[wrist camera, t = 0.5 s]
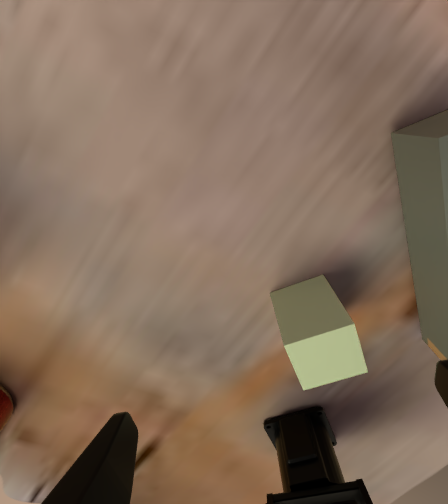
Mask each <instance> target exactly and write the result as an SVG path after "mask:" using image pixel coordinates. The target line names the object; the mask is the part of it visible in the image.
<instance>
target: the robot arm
mask: <svg viewBox="0 0 448 504" xmlns="http://www.w3.org/2000/svg"><path fill="white" fill-rule="evenodd" d="M435 386H436V388H437V391H438V392H439V394H440V396H441V397H442V399H443V401H444V403H445V404H446V406H447V408H448V359H447V360H441V361H438V362H437V365H436V373H435ZM263 424H264V429H265V431H266V432H267V434H268V436H269V438H270V440H271V441H272V443H273V445H274V447H275V448H276V450H277V455H278V461H279V467H280V473H281V479H282V485H283V492H284V493H278V494H273V493H270V494H267V503H266V504H373V503H372V501H371V498H370V496H369V494H368V491H367V489H366V487H365V485H364V482H363V480H362V479H357V480H356V481H352V482H346V483H345V481H344V478H343V475H342V472H341V469H340V466H339V463H338V460H337V457H336V454H335V451H334V448H333V446H335V445H336V444H337V442H336V439H335V437H334V434H333V432H332V429H331V427H330V424H329V422H328V419H327V417H326V414H325V412H324V409H323V408H322V407H315V408H311V409H308V410H304V411H300V412H297V413H293V414H289V415H286V416H282V417H278V418H275V419H271V420H267V421H265V422H264V423H263ZM137 443H138V429H137V427H136V425H135V423H134V421H133V419H132V417H131V416H130V414H129V413H128V412H121V413H116V414H114V415H113V416H112V417H111V418H110V419H109V420H108V422H107V423H106V424H105V425H104V427H103V428H102V429H101V430H100V432H99V433H98V434H97V435H96V437H95V438H94V439H93V440H92V442H91V443H90V444H89V445H88V446H87V448H86V449H85V450H84V451H83V453H82V454H81V455H80V456H79V458H78V459H77V460H76V461H75V463H74V464H73V465H72V466H71V467H70V469H69V470H68V471H67V472H66V474H65V475H64V476H63V477H62V479H61V480H60V481H59V482H58V484H57V485H56V486H55V487H54V489H53V490H52V491H51V492H50V493H49V495H48V496H47V497H46V498H45V500H44V501H43V502H42V503H41V504H130V499H131V493H132V486H133V477H134V469H135V460H136V451H137Z"/></svg>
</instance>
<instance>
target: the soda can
mask: <svg viewBox="0 0 448 504" xmlns="http://www.w3.org/2000/svg"><path fill="white" fill-rule="evenodd" d="M12 413H13V402H12V398H11V396H10V394H9V393H8V391H7V390H6V389H5V388H4V387H3V386H1V385H0V432H1V430H2V429H3V427H4V426H5V424H6V423H7V422H8V420H9V419H10V417H11V415H12Z"/></svg>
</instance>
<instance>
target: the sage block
mask: <svg viewBox="0 0 448 504" xmlns="http://www.w3.org/2000/svg"><path fill="white" fill-rule="evenodd" d="M270 296H271V299H272V303H273V307H274V310H275V314H276V318H277V322H278V325H279V329H280V333H281V336H282V340H283V344H284V347H285V349H286V351H287V354H288V356H289V358H290V361H291V363H292V365H293V368H294V370H295V372H296V374H297V377H298V379H299V381H300V384H301V386H302V388H303V391H304V390H307V389H311V388H314V387H318V386H321V385H325V384H328V383H332V382H335V381H339V380H342V379H346V378H350V377H353V376H357V375H360V374H364V373H367V372H368V371H367V367H366V364H365V360H364V356H363V353H362V349H361V346H360V342H359V339H358V335H357V331H356V328H355V324H354V322H353V321H352V319H351V318H350V316H349V314H348V313H347V311H346V310H345V308H344V307H343V305H342V303H341V302H340V300H339V299H338V297H337V296H336V294H335V292H334V291H333V289H332V288H331V286H330V284H329V283H328V281H327V280H326V278H325V277H324V275H320V276H317V277H314V278H311V279H308V280H306V281H303V282H300V283H297V284H294V285H291V286H288V287H285V288H283V289H280V290H277V291H274V292H271V293H270Z"/></svg>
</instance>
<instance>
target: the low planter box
mask: <svg viewBox="0 0 448 504" xmlns="http://www.w3.org/2000/svg"><path fill="white" fill-rule="evenodd" d="M391 137H392V143H393V150H394V157H395V163H396V170H397V176H398V183H399V189H400V196H401V203H402V209H403V216H404V222H405V229H406V235H407V242H408V249H409V255H410V262H411V268H412V275H413V281H414V288H415V294H416V301H417V308H418V314H419V321H420V327H421V334H422V339H423V340H424V342H425V343H426V344H427V345H428V346H429V347H430V348H431V349H432V351H433V352H434V353H435V354H436V355H437V356H438V357H439V358H440V359H441V360H447V359H448V110H446V111H443V112H441V113H439V114H436V115H434V116H431V117H429V118H426V119H424V120H422V121H419V122H417V123H414V124H412V125H409V126H407V127H405V128H402V129H400V130H397V131H395V132H392V133H391Z"/></svg>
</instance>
